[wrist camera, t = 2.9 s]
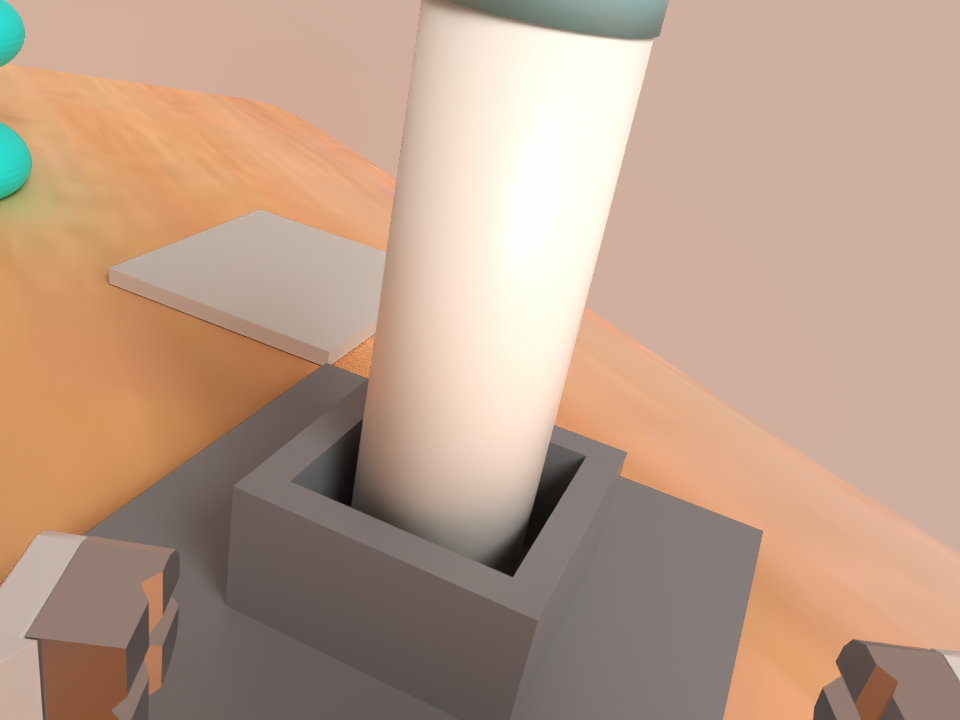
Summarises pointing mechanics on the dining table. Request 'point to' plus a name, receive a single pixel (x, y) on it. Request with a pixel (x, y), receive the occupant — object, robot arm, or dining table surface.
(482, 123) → the cylinder
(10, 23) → the donuts
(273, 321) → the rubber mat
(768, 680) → the dining table surface
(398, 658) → the grey square peg base
